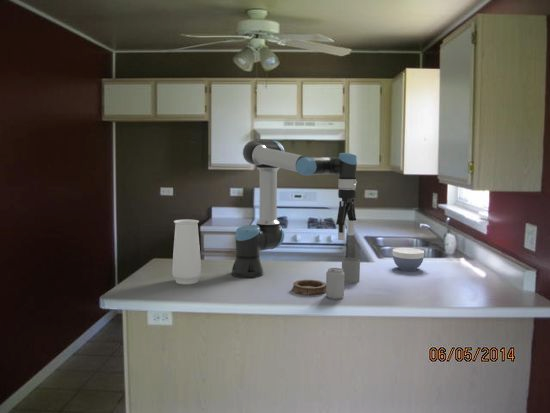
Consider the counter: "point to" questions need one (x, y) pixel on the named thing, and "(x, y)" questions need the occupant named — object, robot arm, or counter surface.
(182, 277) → the vase
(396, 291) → the counter surface
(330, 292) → the can
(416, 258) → the bowl
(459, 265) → the counter surface
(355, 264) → the cup
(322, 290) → the tray
